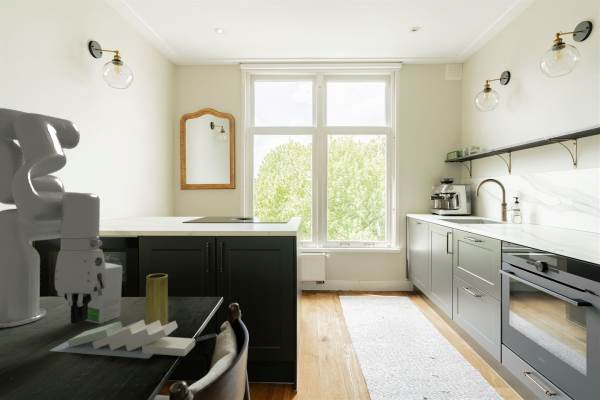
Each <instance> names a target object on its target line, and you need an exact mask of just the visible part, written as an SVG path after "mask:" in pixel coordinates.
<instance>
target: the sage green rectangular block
mask: <svg viewBox="0 0 600 400" xmlns="http://www.w3.org/2000/svg"><path fill="white" fill-rule="evenodd" d="M123 327H124V326H123V324H122V321H116V322H113V323H109V324H106V325H103V326H100V327H96V328H93V329H92V328H91V329H89V330H85V331H83V332H81V333H80V334H78V335H75V336H74V337H71V338H70V339H68V340H67V341H68V344H69V347H72V346H76V345H79V344H83V343H87V342H90V341H94V340H97V339H101V338H104V337H108V336H109V335H111V334H113V333H114V332H116V331H118V330H119V329H121V328H123Z"/></svg>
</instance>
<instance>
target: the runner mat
mask: <svg viewBox="0 0 600 400" xmlns="http://www.w3.org/2000/svg"><path fill="white" fill-rule="evenodd" d="M97 340H98V339H97ZM94 341H96V340H94ZM94 341H90V342H87V343H83V344H79V345H76V346H72V347H69V344H68V340H66V341H65V342H63V343H61V344H58V345H57V346H55V347H54V348H53V347H52V348H51V349H49V351H50V352H60V353H72V354H73V353H74V354H84V355H86V354H87V355H98V356H99V355H101V356H112V357H113V356H114V357H123V358H137V359H150V358H151V357H152V356H153V355H154V354H150V353H142V346H141V347H138V348H136V349H133V350H131V351H128V350H127V348H126V345H124V346H121V347H119V348H117V349H114V350H112V351H111V348H110V346H109V344H110V343H109V344H107V345H104V346H102V347H99V348H97V349H95V348H94V346H93V342H94Z"/></svg>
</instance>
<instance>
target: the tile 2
mask: <svg viewBox="0 0 600 400" xmlns="http://www.w3.org/2000/svg"><path fill="white" fill-rule="evenodd" d="M144 326H146V325H145V318H144V319H141V320H140V319H139V320H138V321H136V322H133V323H131V324H129V325H126V326H122V327H123V328H121V329H119V330H118V331H116V332H114V333H113V334H111V335H109V336H108V337H104V338H101V339H98V340H96V341H94V342H93V346H94V348H95V349H97V348H99V347H102V346H104V345H107V344H109V343H112V342H114V341H117V340H119V339H122V338H124V337H127V336H129V335H132V334H134V333H135V332H137V331H138V330H140V329H141V328H143V327H144Z"/></svg>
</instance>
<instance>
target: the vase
mask: <svg viewBox="0 0 600 400" xmlns="http://www.w3.org/2000/svg"><path fill="white" fill-rule="evenodd" d="M168 278H169V275H168V273H167V274H166V273H163V272H162V273H152V274H149V275H146V278H145V279H146V282H145V283H146V285H145V316H144V322H145V325H148V324H151V323H153V322H156V321H158V320H160V323H161V325H162V326H164V325H166V324H168V323H169V297H168V296H169V295H168V293H169V291H168V281H169V279H168Z"/></svg>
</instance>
